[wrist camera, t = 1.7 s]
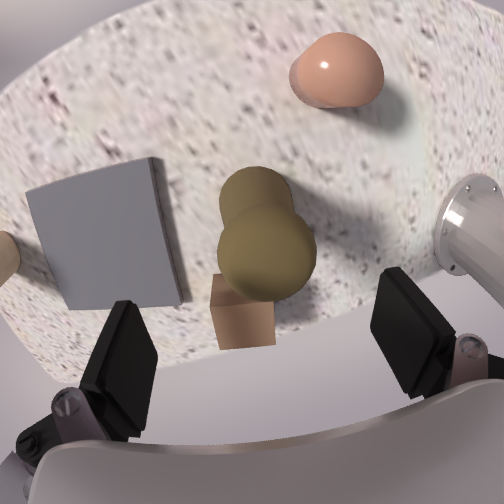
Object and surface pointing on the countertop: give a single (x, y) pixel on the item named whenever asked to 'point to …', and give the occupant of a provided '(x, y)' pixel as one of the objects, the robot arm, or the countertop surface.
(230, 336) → the walnut block
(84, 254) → the slate tile
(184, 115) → the countertop surface
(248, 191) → the olive tall rounded piece
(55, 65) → the countertop surface
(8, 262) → the candle
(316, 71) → the peach blob
